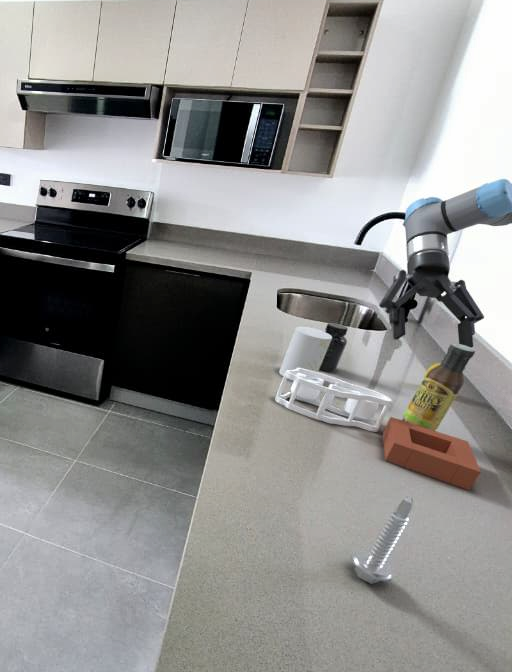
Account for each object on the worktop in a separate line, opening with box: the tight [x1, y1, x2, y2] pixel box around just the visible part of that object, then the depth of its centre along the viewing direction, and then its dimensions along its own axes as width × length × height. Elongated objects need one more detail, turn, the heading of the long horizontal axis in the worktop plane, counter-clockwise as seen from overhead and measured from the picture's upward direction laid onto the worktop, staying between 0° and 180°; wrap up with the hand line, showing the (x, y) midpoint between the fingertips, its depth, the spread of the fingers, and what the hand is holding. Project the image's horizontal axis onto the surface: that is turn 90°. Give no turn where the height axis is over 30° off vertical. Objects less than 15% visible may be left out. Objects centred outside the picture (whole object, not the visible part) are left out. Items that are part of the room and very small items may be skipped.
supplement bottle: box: [319, 322, 349, 372], centre depth 134 cm, size 7×7×12 cm
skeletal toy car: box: [274, 368, 394, 433], centre depth 108 cm, size 20×11×7 cm, turn 53°
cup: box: [279, 326, 332, 382], centre depth 124 cm, size 8×8×12 cm
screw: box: [350, 496, 415, 585], centre depth 63 cm, size 13×5×5 cm
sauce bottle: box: [401, 342, 476, 431], centre depth 103 cm, size 6×6×20 cm
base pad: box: [382, 416, 482, 491], centre depth 95 cm, size 13×13×4 cm
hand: (432, 342), depth 107 cm, fingers open, 13 cm apart
